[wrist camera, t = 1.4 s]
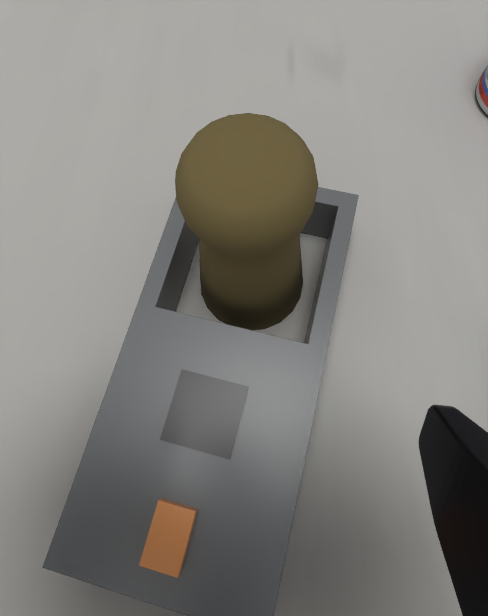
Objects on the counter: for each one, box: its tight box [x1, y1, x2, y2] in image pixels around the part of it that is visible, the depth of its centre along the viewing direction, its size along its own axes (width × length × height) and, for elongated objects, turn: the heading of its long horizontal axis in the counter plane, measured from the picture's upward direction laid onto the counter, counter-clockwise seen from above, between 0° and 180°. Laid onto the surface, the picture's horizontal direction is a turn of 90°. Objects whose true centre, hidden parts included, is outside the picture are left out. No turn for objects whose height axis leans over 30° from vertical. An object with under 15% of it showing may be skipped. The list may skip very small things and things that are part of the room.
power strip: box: [43, 187, 359, 616], centre depth 20 cm, size 20×9×4 cm, turn 165°
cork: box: [175, 113, 318, 330], centre depth 18 cm, size 6×6×11 cm
